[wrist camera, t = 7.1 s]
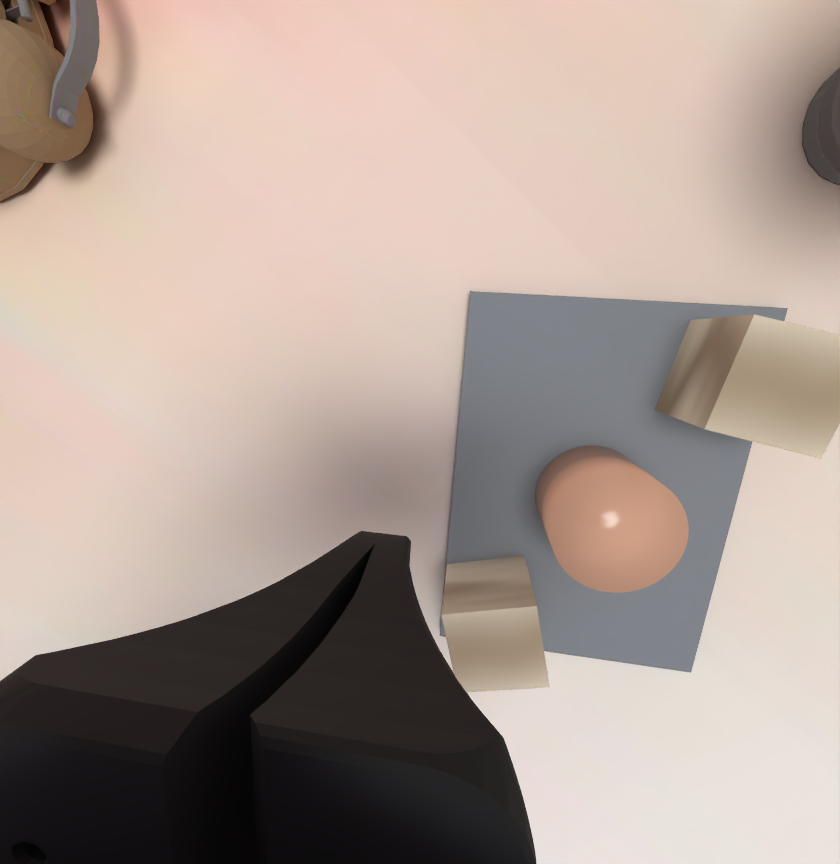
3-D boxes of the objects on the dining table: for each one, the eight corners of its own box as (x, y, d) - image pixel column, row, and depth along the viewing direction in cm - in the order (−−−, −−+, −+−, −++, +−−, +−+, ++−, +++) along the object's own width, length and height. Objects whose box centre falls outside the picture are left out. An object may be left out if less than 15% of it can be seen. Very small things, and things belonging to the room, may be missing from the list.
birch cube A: (535, 623, 21) (549, 687, 17) (460, 629, 22) (457, 692, 18) (524, 555, 20) (536, 605, 17) (447, 564, 21) (441, 614, 17)
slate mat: (685, 663, 21) (690, 672, 21) (440, 628, 23) (439, 635, 22) (776, 309, 17) (787, 308, 16) (470, 292, 18) (470, 291, 18)
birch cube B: (745, 432, 18) (820, 459, 14) (654, 409, 18) (704, 429, 14) (786, 343, 17) (880, 344, 13) (690, 320, 17) (754, 314, 13)
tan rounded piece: (632, 549, 20) (672, 600, 16) (528, 536, 20) (542, 583, 16) (653, 450, 18) (702, 480, 15) (542, 440, 19) (561, 466, 15)
